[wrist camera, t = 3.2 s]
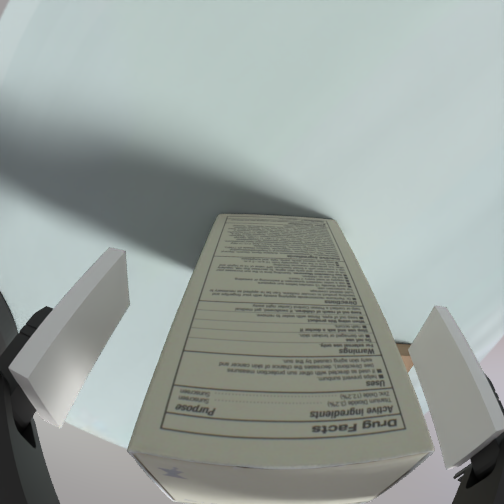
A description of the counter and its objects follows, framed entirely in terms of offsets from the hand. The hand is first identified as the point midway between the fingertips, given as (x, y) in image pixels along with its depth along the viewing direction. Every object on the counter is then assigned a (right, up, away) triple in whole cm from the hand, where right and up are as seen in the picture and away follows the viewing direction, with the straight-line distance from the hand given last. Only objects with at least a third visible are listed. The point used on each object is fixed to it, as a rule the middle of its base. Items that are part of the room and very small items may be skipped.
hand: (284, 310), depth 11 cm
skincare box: (0, +2, +4) cm, 5 cm away
